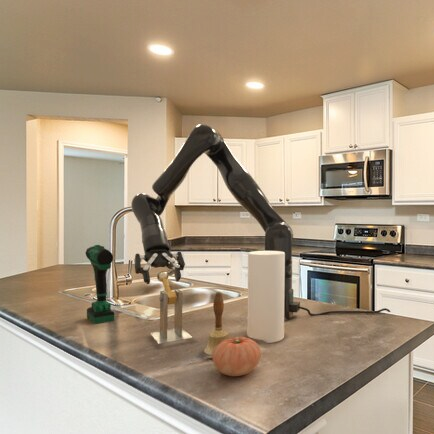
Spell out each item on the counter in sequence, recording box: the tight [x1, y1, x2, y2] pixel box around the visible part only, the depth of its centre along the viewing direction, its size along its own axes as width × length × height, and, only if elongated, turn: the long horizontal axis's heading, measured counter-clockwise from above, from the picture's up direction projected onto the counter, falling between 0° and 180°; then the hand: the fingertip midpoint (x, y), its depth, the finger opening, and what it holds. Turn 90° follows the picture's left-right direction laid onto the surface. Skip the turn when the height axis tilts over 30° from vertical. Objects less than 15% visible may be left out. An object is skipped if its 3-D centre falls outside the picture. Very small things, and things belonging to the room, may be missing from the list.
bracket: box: [149, 288, 193, 345], centre depth 109 cm, size 11×9×14 cm
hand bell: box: [203, 291, 229, 361], centre depth 99 cm, size 8×8×16 cm
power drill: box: [85, 244, 115, 325], centre depth 132 cm, size 6×29×25 cm, turn 41°
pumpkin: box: [212, 336, 262, 377], centre depth 87 cm, size 11×11×8 cm
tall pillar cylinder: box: [246, 250, 285, 344], centre depth 112 cm, size 11×11×25 cm
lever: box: [156, 270, 177, 305], centre depth 113 cm, size 14×3×3 cm, turn 36°
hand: (163, 281), depth 116 cm, fingers open, 8 cm apart
